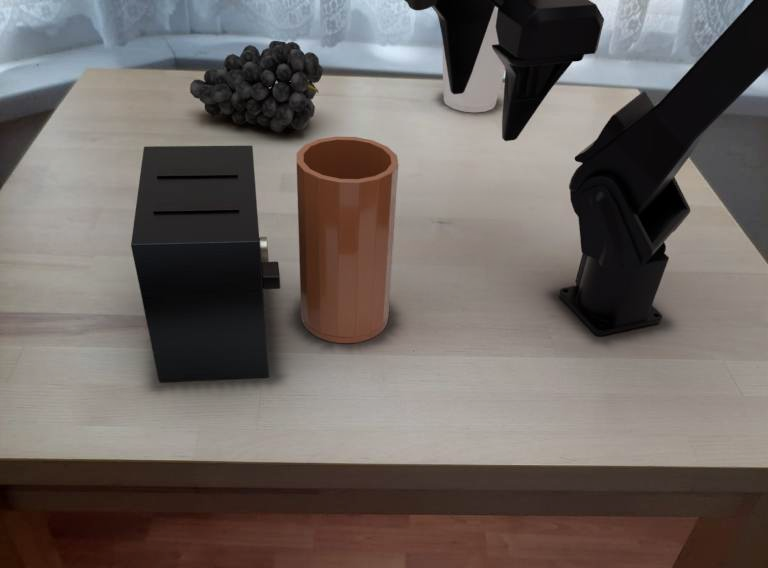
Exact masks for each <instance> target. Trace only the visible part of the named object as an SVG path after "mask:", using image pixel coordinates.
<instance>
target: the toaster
mask: <svg viewBox="0 0 768 568" xmlns="http://www.w3.org/2000/svg"><path fill="white" fill-rule="evenodd" d="M141 157H142V158H141V159H142V160H141V165H140V173H139V181H138V190H137V195H136V205H135V210H134V211H135V212H134V218H133V226H132V234H131V241H130V248H131V252H132V257H133V262H134V267H135V272H136V277H137V282H138V287H139V291H140V297H141V302H142V307H143V311H144V316H145V322H146V326H147V331H148V335H149V340H150V341H149V342H150V346H151V350H152V355H153V360H154V366H155V370H156V374H157V379H158V382H159V383H171V382H172V383H173V382H192V381H195V382H196V381H214V380H215V381H217V380H236V379H257V378H269V377H270V370H269V369H270V368H269V367H270V366H269V355H268V341H267V340H268V339H267V329H266V328H267V325H266V311H265V299H264V290H279V289H280V290H281V277H280V276H281V275H280V267H279V262H278V261H277V260H275V261H269V249H268V247H269V246H268V237H267V236H260V227H259V215H258V202H257V188H256V174H255V159H254V147H253V145H170V146H169V145H165V146H164V145H161V146H159V145H157V146H155V145H154V146H149V145H147V146H143V149H142V156H141Z"/></svg>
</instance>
